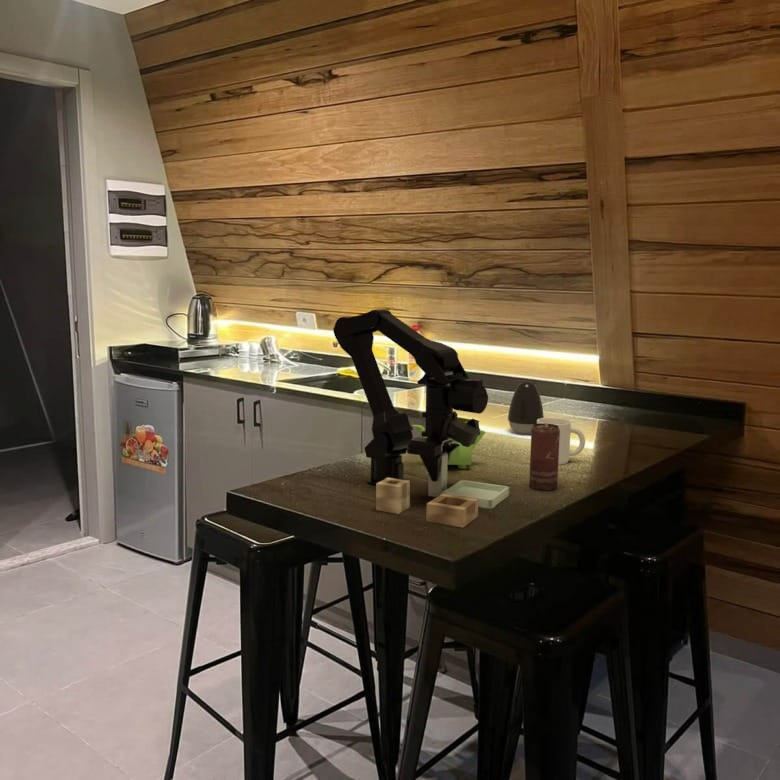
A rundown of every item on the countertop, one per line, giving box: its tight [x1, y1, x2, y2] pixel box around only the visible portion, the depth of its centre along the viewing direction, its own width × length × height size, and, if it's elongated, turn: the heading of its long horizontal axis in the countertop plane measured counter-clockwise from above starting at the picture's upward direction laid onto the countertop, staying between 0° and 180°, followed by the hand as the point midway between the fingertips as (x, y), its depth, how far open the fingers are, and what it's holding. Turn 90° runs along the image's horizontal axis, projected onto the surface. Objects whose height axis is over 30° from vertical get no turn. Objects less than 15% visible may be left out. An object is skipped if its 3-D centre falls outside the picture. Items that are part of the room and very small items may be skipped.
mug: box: [537, 417, 586, 466], centre depth 198 cm, size 12×8×10 cm
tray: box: [442, 479, 511, 510], centre depth 168 cm, size 11×11×2 cm
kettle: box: [411, 421, 486, 470], centre depth 194 cm, size 15×14×11 cm
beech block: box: [375, 478, 411, 515], centre depth 160 cm, size 5×5×6 cm
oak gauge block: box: [425, 494, 479, 529], centre depth 154 cm, size 8×8×4 cm
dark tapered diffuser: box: [507, 380, 545, 435], centre depth 231 cm, size 10×10×15 cm
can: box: [529, 423, 560, 492], centre depth 176 cm, size 6×6×14 cm
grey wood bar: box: [427, 453, 448, 498], centre depth 169 cm, size 3×3×9 cm
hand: (437, 479), depth 170 cm, fingers closed on grey wood bar, 3 cm apart
